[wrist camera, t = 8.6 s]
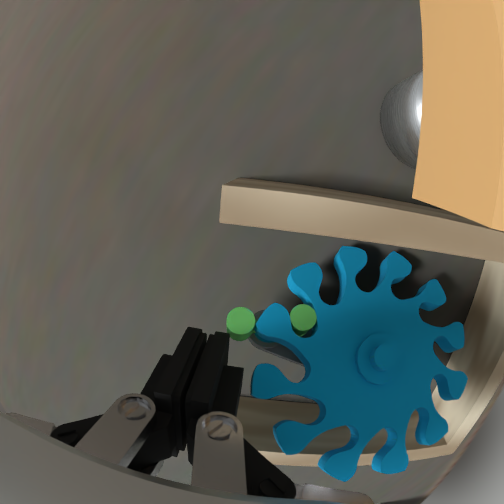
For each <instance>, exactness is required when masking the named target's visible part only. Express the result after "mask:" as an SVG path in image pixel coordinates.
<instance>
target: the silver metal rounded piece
mask: <svg viewBox="0 0 504 504" xmlns="http://www.w3.org/2000/svg"><path fill="white" fill-rule="evenodd" d="M422 94H423V70H421V71H419V72H418V73H416V74H414V75H412V76H411V77H409V78H407V79H405V80H404V81H402V82H400V83H399V84H397V85H395V86H394V87H393V88H391V90H390V91H389V92H388V93H387V95H386V96H385V98H384V100H383V103H382V106H381V112H380V124H381V129H382V133H383V136H384V139H385V141H386V143H387V145H388V147H389V149H390V150H391V151H392V153H393V154H394V155H395V156H396V157H397V158H398V159H399V160H400V161H401V162H402V163H404V164H405V165H407V166H409V167H411V168H413V169H416V166H417V158H418V149H419V139H420V128H421V114H422Z"/></svg>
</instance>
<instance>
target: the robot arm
mask: <svg viewBox="0 0 504 504" xmlns="http://www.w3.org/2000/svg"><path fill="white" fill-rule="evenodd" d="M229 338H230V334H229V333H223V332H217V331H216V332H215V335H213V334H210V335H209V338H208V340H207V334H206V333H202V329H198V328H192V327H188V328H187V329H186V331H185V333H184V335H183V337H182V339H181V341H180V342H179V344H178V346H177V348H176V350H175V352H174V354H173V356H171V355H167V354H164V355H162V357H161V358H160V360H159V362H158V364H157V365H156V367H155V369H154V371H153V372H152V374H151V376H150V378H149V380H148V381H147V383H146V385H145V387H144V388H143V390H142V392H141V394H133V393H132V394H126V395H124V396H121V397H120V398H118V399H117V400H116V401H115V402H114V403H113V404H112V406H111V407H110V408H109V409H108V410H107V411H106V412H105V413H104V414H103V415H99V416H95V417H91V418H87V419H83V420H79V421H75V422H71V423H67V424H63V425H60V426H58V427H55V425H54V423H49V422H45V421H42V420H38V419H34V418H30V417H27V416H23V415H20V414H17V413H6V414H5V413H2V412H0V504H374V502H373V501H372V499H371V498H370V497H369V496H367V495H366V494H362V493H359V492H352V491H345V490H338V489H332V488H326V487H321V486H316V485H311V484H306V483H305V485H304V486H303V485H299V484H294V483H293V482H292V481H291V479H290V478H289V477H287V476H286V475H285V474H284V473H283V472H281V471H280V470H279V469H278V468H277V467H275V466H274V465H273V464H272V463H271V462H270V461H269V460H267V459H266V458H265V457H264V456H263V455H262V454H261V453H260V452H258V451H257V450H256V449H255V448H254V447H253V446H252V445H251V444H250V443H249V442H248V441H247V440H246V439H244V438H243V427H242V424H241V422H240V421H239V419H238V418H236V417H237V411H238V406H239V400H240V394H241V387H242V379H243V371H244V368H240V367H234V366H227V363H228V350H229ZM206 341H207V343H206ZM186 444H187V449H188V460H189V462H190V463H191V464H192V466H193V468H192V481H191V485H187V484H182V483H178V482H174V481H170V480H166V479H162V478H158V477H156V476H157V474H158V472H159V471H160V469H161V468H162V466H163V463H164V459H167V458H170V457H171V456H174V457H177V456H178V453H179V450H182V451H184V450H185V447H186Z"/></svg>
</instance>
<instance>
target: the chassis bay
mask: <svg viewBox="0 0 504 504" xmlns="http://www.w3.org/2000/svg"><path fill="white" fill-rule="evenodd" d="M219 223H226V224H235V225H244V226H252V227H261V228H269V229H277V230H285V231H293V232H301V233H308V234H316V235H324V236H331V237H339V238H346V239H353V240H360V241H367V242H374V243H381V244H388V245H395V246H401V247H408V248H415V249H421V250H428V251H434V252H440V253H446V254H453V255H459V256H465V257H471V258H477V259H483V260H485V263H484V267H483V270H482V274H481V277H480V280H479V284H478V287H477V290H476V293H475V296H474V299H473V302H472V305H471V308H470V310H469V313H468V316H467V319H466V321H465V324H464V326H463V328H464V337H465V340H464V347H463V348H461V349H459V350H456V351H453V353H452V355H451V357H450V359H449V361H448V364H447V366H446V367H447V368H449V369H451V370H454V371H462V372H464V373H465V374H466V376H467V378H468V380H467V383H466V387H465V389H464V392H463V394H462V395H461V397H460V398H459V399H457V400H450V401H445V400H443V399H442V398H441V397H440V395H439V392H438V387H437V386H436V388H435V390H434V392H433V394H432V400H433V404H434V406H435V409H436V410H437V412H438V413H439V415H440V416H441V417H443V418H444V419H445V420H446V421H447V423H448V432H447V433H446V434H445V436H444V437H443V438H441V439H440V440H439V441H438V442H436V443H435V444H433V445H421V444H419V443H418V442H417V441H416V438H415V431H416V427H417V424H418V421H419V414H418V412H417V411H416V410H414V411H413V413H412V414H411V417H410V420H409V423H408V427H407V431H406V437H405V446H406V451H407V454H408V458H409V461H413V460H420V459H426V458H432V457H438V456H443V455H448V454H452V453H453V452H454V451H455V450H456V448H457V447H458V446H459V444H460V443H461V442H462V440H463V439H464V438H465V436H466V435H467V434H468V432H469V431H470V429H471V428H472V427H473V425H474V424H475V422H476V421H477V419H478V418H479V416H480V415H481V413H482V412H483V410H484V409H485V407H486V405H487V404H488V402H489V401H490V399H491V397H492V396H493V394H494V392H495V391H496V389H497V387H498V385H499V384H500V382H501V380H502V378H503V376H504V231H500V230H496V229H492V228H489V227H487V226H485V225H482V224H480V223H477V222H475V221H473V220H470V219H468V218H465V217H463V216H460V215H457V214H455V213H452V212H449V211H445V210H440V209H436V208H431V207H426V206H422V205H417V204H412V203H407V202H402V201H397V200H392V199H386V198H381V197H375V196H370V195H364V194H358V193H352V192H346V191H339V190H333V189H326V188H320V187H313V186H305V185H298V184H290V183H282V182H274V181H266V180H257V179H247V178H237V179H235V180H233V181H230V182H228V183H226V184H224V185H222V195H221V207H220V219H219ZM319 413H320V408H319V405H318V404H314V403H299V402H287V401H276V400H267V399H258V398H250V397H242V396H240V400H239V406H238V411H237V417H236V418H238V419H239V421H240V422H241V424H242V427H243V438H244V439H246V440H247V441H248V442H249V443H250V444H251V445H252V446H253V447H254V448H255V449H256V450H257V451H258V452H260V453H261V454H262V455H263V456H264V457H265V458H266V459H267V460H269V461H270V462H271V463H272V464H277V465H293V466H318V461H319V459H320V458H321V456H322V455H323V454H324V453H326V452H328V451H330V450H333V449H337V448H341V447H343V446H345V445H346V444H347V443H348V442H349V440H350V437H351V432H350V429H349V428H348V427H347V426H346V425H344V426H340V427H336V428H333V429H330V430H327V431H325V432H323V433H321V434H320V435H318V436H317V437H315V438H314V439H313V440H312V441H311V442H310V443H309V444H308V445H307V446H306V447H305V448H304V449H303V450H302V451H301V452H299V453H297V454H294V455H286V454H285V453H284V452H283V451H282V450H281V448H280V447H279V445H278V443H277V441H276V439H275V437H274V434H273V426H274V425H275V424H276V423H278V422H280V421H282V420H293V421H296V422H299V423H303V424H310V423H312V422H314V421H315V420H316V419H317V418H318V416H319ZM387 438H388V434H387V431H386V430H385V428H383V429H381V430H380V431H379V432H378V433H377V434H376V435H375V436H374V437H373V438H372V439H371V440H370V441H369V442H368V443H367V445H366V446H365V448H364V449H363V451H362V453H361V455H360V457H359V460H358V464H357V466H361V465H372V460H373V457H374V455H375V454H376V453H377V452H378V451H379V450H380V449H381V448H382V447H383V446H384V444H385V443H386V441H387Z"/></svg>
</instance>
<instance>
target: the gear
mask: <svg viewBox="0 0 504 504" xmlns="http://www.w3.org/2000/svg"><path fill="white" fill-rule="evenodd" d="M366 263H367V254H366V252H365V251H364V250H362V249H360V248H356V247H350V246H342V247H341V248H340V250H339V251H338V253H337V254H336V256H335V257H334V267H335V269H336V271H337V273H338V277H339V281H340V292H339V297H338V300H337V303H336V305H328V304H326V303H324V302H323V301H322V300H321V298H320V296H319V288H320V285H321V282H322V278H323V274H322V270H321V268H320V267H319V265H318V264H316V263H307V264H303V265H301V266H298V267H296V268H294V269H293V270H291V272H290V274H289V276H288V278H287V283H288V287H289V289H290V290H291V291H292V292H293V293H294V294H295V295H297V296H298V297H299V298H300V299H301V300H302V302H303V303H304V304H300V305H297V306H295V307H294V308H293V309H292V311H291V312H290V314H289V313H288V311H287V310H286V308H285V307H283V306H282V305H280V304H278V303H273V304H272V305H270V306H269V307H268V308H267V309H266V310H261V311H259V312H257V313H255V314H253V313H252V312H251V311H250V310H249V309H247V308H244V307H237V308H234V309H233V310H231V311H230V312H229V314H228V316H227V333H229V334H230V337H231V338H232V339H234V340H236V341H243V340H246V339H247V338H248V339H249V341H250V342H251V344H252V345H253V346H255V347H256V348H258V349H261V350H263V351H265V352H268V353H270V354H273V355H275V356H278V357H281V358H283V359H286V360H288V361H291V362H293V363H296V364H299V365H301V366H304V367H305V376H304V378H303V379H302V381H300V382H299V383H293V382H291V381H289V380H288V379H287V378H286V377H285V376H284V375H283V374H282V372H281V371H280V370H279V369H278V368H277V367H275V366H274V365H271V364H266V363H265V364H259V365H257V366H256V368H255V370H254V372H253V375H252V378H251V395H252V396H253V397H255V398H258V399H270V398H273V397H275V396H278V395H283V394H294V395H299V396H303V397H306V398H309V399H312V400H314V401H315V402H316V403H317V404H318V405H319V408H320V413H319V416H318V418H317V419H316V420H315V421H314V422H312V423H310V424H303V423H299V422H296V421H293V420H282V421H280V422H278V423H276V424H275V425H274V426H273V434H274V437H275V439H276V441H277V443H278V445H279V447H280V448H281V450H282V451H283V452H284V453H285V454H286V455H294V454H297V453H299V452H301V451H302V450H303V449H304V448H305V447H306V446H307V445H308V444H309V443H310V442H311V441H312V440H313V439H314V438H315V437H317V436H318V435H320V434H321V433H323V432H325V431H327V430H330V429H333V428H336V427H340V426H344V425H346V426H347V427H348V428H349V429H350V432H351V437H350V440H349V442H348V443H347V444H346V445H345V446H343V447H341V448H337V449H333V450H330V451H328V452H326V453H324V454H323V455H322V456H321V458H320V459H319V461H318V466H319V467H320V468H321V469H322V470H323V471H324V472H326V473H327V474H329V475H330V476H332V477H334V478H336V479H338V480H341V481H344V482H346V481H347V480H349V479H350V478H351V477H352V476H353V475H354V474H355V471H356V469H357V464H358V460H359V457H360V455H361V453H362V451H363V449H364V448H365V446H366V445H367V443H368V442H369V441H370V440H371V439H372V438H373V437H374V436H375V435H376V434H377V433H378V432H379V431H380V430H381V429H383V428H385V430H386V431H387V434H388V438H387V441H386V443H385V444H384V446H383V447H382V448H381V449H380V450H379V451H378V452H377V453H376V454H375V455H374V457H373V460H372V469H373V470H375V471H378V472H381V473H385V474H393V473H398V472H402V471H405V469H406V468H407V465H408V461H409V458H408V454H407V451H406V446H405V437H406V431H407V427H408V423H409V420H410V417H411V414H412V413H413V411H414V410H416V411H417V412H418V414H419V421H418V424H417V427H416V431H415V438H416V441H417V442H418V443H419V444H421V445H433V444H435V443H436V442H438V441H439V440H440V439H441V438H443V437H444V436H445V434H446V433H447V432H448V423H447V421H446V420H445V419H444V418H443V417H441V416H440V415H439V413H438V412H437V410H436V409H435V406H434V404H433V400H432V395H431V389H430V384H431V380H432V379H433V378H434V379H435V380H436V382H437V387H438V392H439V395H440V397H441V398H442V399H443V400H445V401H450V400H457V399H459V398H460V397H461V395H462V394H463V392H464V389H465V387H466V383H467V380H468V378H467V376H466V374H465V373H464V372H462V371H454V370H451V369H449V368H447V367H446V366H445V365H443V363H442V362H441V361H440V360H439V359H438V357H437V356H436V355H435V353H434V350H433V343H434V341H435V342H436V343H437V344H438V345H439V347H440V348H441V349H442V350H443V351H444V352H447V353H450V352H453V351H456V350H459V349H461V348H463V347H464V340H465V337H464V328H463V324H462V323H460V322H454V323H452V324H449V325H447V326H445V327H435V326H432V325H430V324H427V323H425V322H423V321H422V319H421V318H420V316H419V308H421V309H424V310H426V311H432V310H434V309H436V308H438V307H439V306H441V305H443V304H444V303H445V302H446V296H445V293H444V291H443V289H442V287H441V285H440V284H439V282H438V281H437V279H432V280H430V281H428V282H427V283H426V284H424V285H423V286H422V287H420V288H419V290H418V292H417V294H416V295H415V297H413V298H410V299H405V300H400V299H398V298H396V297H395V296H394V295H393V293H392V290H391V284H396V283H399V282H400V281H402V280H403V279H404V278H405V277H406V276H408V275H409V274H410V272H411V269H412V265H411V264H410V263H409V261H408V260H407V259H405V258H404V257H403V256H401V255H400V254H398V253H397V252H395V251H393V252H391V253H390V254H389V255H388V256H387V257H386V258H385V259H384V260H383V261H382V263H381V265H380V277H379V281H378V283H377V285H376V287H375V288H374V290H373V291H372V292H363V291H361V290H360V289H359V288H358V287H357V285H356V282H355V276H356V275H357V274H358V273H359V272H360V271H361V269H362V268H363V267H364V266H365V265H366Z"/></svg>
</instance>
